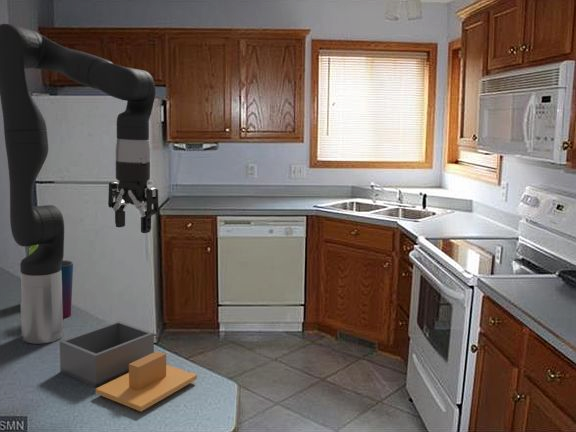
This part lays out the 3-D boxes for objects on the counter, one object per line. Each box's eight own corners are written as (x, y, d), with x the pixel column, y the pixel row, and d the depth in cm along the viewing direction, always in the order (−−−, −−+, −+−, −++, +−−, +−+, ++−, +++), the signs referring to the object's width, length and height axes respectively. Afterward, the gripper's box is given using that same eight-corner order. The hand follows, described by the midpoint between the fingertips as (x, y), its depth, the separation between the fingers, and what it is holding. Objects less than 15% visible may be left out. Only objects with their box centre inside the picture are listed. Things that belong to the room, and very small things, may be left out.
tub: (60, 371, 123) (59, 341, 122) (119, 348, 136) (118, 321, 135) (95, 387, 116) (95, 355, 115) (153, 362, 130) (153, 333, 128)
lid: (95, 398, 113) (95, 365, 111) (154, 369, 127) (154, 339, 125) (140, 417, 106) (140, 381, 105) (196, 384, 120) (197, 352, 119)
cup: (65, 321, 152) (63, 267, 150) (42, 318, 154) (41, 265, 151) (79, 312, 159) (78, 261, 156) (57, 310, 160) (56, 259, 158)
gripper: (98, 157, 127) (99, 227, 130) (141, 162, 120) (141, 237, 123) (124, 156, 134) (125, 223, 136) (167, 161, 126) (166, 232, 129)
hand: (132, 229), depth 130 cm, fingers open, 8 cm apart
